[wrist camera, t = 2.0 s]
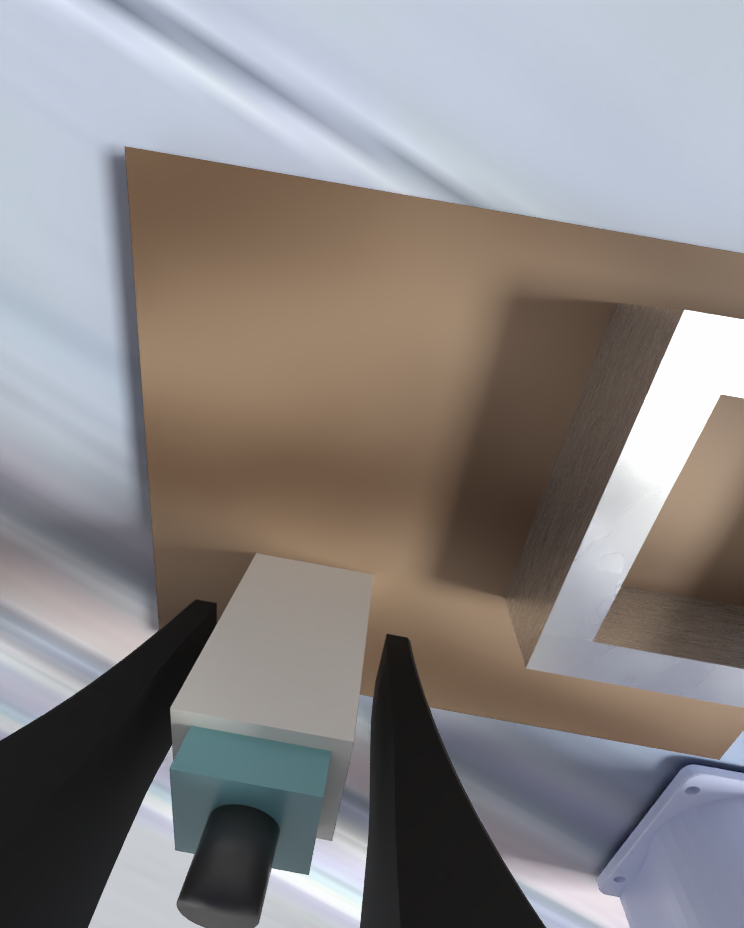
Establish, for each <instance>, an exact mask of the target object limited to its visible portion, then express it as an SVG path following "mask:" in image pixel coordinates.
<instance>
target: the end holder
mask: <svg viewBox="0 0 744 928" xmlns="http://www.w3.org/2000/svg"><path fill="white" fill-rule="evenodd" d="M720 394H725V395H731V396H737V397H742V398H744V320H740V319H734V318H729V317H723V316H717V315H711V314H706V313H700V312H694V311H689V310H682V309H672V308H662V307H653V306H643V305H633V304H624V303H615V304H614V306H613V309H612V312H611V314H610V317H609V320H608V322H607V325H606V328H605V330H604V333H603V336H602V338H601V341H600V344H599V346H598V349H597V352H596V354H595V357H594V360H593V362H592V365H591V368H590V370H589V373H588V376H587V378H586V381H585V384H584V386H583V389H582V392H581V394H580V397H579V400H578V402H577V405H576V408H575V410H574V413H573V416H572V418H571V421H570V424H569V427H568V429H567V432H566V435H565V437H564V440H563V443H562V445H561V448H560V451H559V453H558V456H557V459H556V461H555V464H554V467H553V469H552V472H551V475H550V477H549V480H548V483H547V485H546V488H545V491H544V493H543V496H542V499H541V501H540V504H539V507H538V509H537V512H536V515H535V517H534V520H533V523H532V525H531V528H530V531H529V533H528V536H527V539H526V541H525V544H524V547H523V549H522V552H521V555H520V557H519V560H518V563H517V565H516V568H515V571H514V573H513V576H512V579H511V581H510V584H509V587H508V589H507V592H506V595H505V597H504V598H505V602H506V605H507V608H508V611H509V615H510V618H511V621H512V624H513V628H514V631H515V634H516V638H517V641H518V644H519V647H520V651H521V654H522V657H523V660H524V664H525V667H526V669H532V670H537V671H543V672H549V673H554V674H560V675H565V676H571V677H576V678H582V679H587V680H593V681H598V682H604V683H609V684H615V685H620V686H626V687H631V688H637V689H642V690H648V691H653V692H659V693H665V694H670V695H676V696H681V697H687V698H692V699H698V700H703V701H709V702H714V703H720V704H725V705H731V706H736V707H742V708H744V607H743V606H737V605H731V604H726V603H720V602H715V601H709V600H703V599H698V598H692V597H687V596H681V595H676V594H670V593H664V592H659V591H653V590H648V589H642V588H637V587H631V586H625V585H622V584H623V582H624V580H625V578H626V576H627V574H628V572H629V570H630V568H631V566H632V564H633V562H634V560H635V558H636V556H637V555H638V553H639V551H640V549H641V547H642V545H643V543H644V541H645V539H646V537H647V535H648V533H649V531H650V529H651V527H652V525H653V524H654V522H655V520H656V518H657V516H658V514H659V512H660V510H661V508H662V506H663V504H664V502H665V500H666V498H667V496H668V495H669V493H670V491H671V489H672V487H673V485H674V483H675V481H676V479H677V477H678V475H679V473H680V471H681V469H682V467H683V466H684V464H685V462H686V460H687V458H688V456H689V454H690V452H691V450H692V448H693V446H694V444H695V442H696V440H697V438H698V437H699V435H700V433H701V431H702V429H703V427H704V425H705V423H706V421H707V419H708V417H709V415H710V413H711V411H712V409H713V407H714V406H715V404H716V402H717V400H718V398H719V396H720Z"/></svg>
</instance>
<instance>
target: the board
mask: <svg viewBox="0 0 744 928" xmlns="http://www.w3.org/2000/svg"><path fill="white" fill-rule="evenodd" d="M125 157H126V171H127V185H128V199H129V213H130V227H131V241H132V255H133V269H134V283H135V297H136V311H137V325H138V339H139V353H140V367H141V381H142V395H143V409H144V423H145V437H146V451H147V465H148V479H149V493H150V507H151V521H152V535H153V549H154V563H155V577H156V591H157V605H158V619H159V630H160V629H161V628H162V627H164V626H165V625H166V624H167V623H168V622H169V621H171V620H172V619H173V618H174V617H175V616H176V615H178V614H179V613H180V612H181V611H182V610H183V609H184V608H186V607H187V606H188V605H189V604H190V603H191V602H193V601H194V600H196V599H197V600H203V601H208V602H214V603H217V623H218V621H219V619H220V618H221V616H222V614H223V612H224V610H225V609H226V607H227V605H228V603H229V601H230V600H231V598H232V596H233V594H234V592H235V591H236V589H237V587H238V585H239V583H240V582H241V580H242V578H243V576H244V574H245V573H246V571H247V569H248V567H249V565H250V564H251V562H252V560H253V558H254V556H255V555H256V553H258V554H264V555H269V556H275V557H280V558H286V559H292V560H297V561H303V562H308V563H314V564H319V565H325V566H330V567H336V568H342V569H347V570H353V571H358V572H364V573H369V574H373V583H372V592H371V600H370V609H369V618H368V626H367V635H366V643H365V652H364V661H363V669H362V678H361V687H360V695H366V696H371V697H374V688H375V681H376V677H377V672H378V668H379V664H380V660H381V655H382V651H383V647H384V642H385V638H386V634H391V635H396V636H402V637H408V639H409V640H410V641H411V647H412V652H413V656H414V660H415V664H416V668H417V671H418V675H419V678H420V681H421V685H422V688H423V691H424V694H425V697H426V700H427V703H428V705H429V707H432V708H437V709H443V710H448V711H454V712H459V713H465V714H470V715H476V716H481V717H487V718H492V719H498V720H503V721H509V722H514V723H520V724H525V725H531V726H536V727H542V728H547V729H553V730H558V731H564V732H569V733H575V734H580V735H586V736H591V737H597V738H602V739H608V740H613V741H619V742H624V743H630V744H635V745H641V746H646V747H652V748H657V749H663V750H668V751H674V752H679V753H685V754H690V755H696V756H701V757H707V758H712V759H718V760H719V759H720V758H721V757H722V756H723V754H724V753H725V752H726V751H727V750H728V748H729V747H730V746H731V745H732V743H733V742H734V741H735V740H736V739H737V737H738V736H739V735H740V734H741V733H742V731H743V730H744V708H742V707H736V706H731V705H725V704H720V703H714V702H709V701H703V700H698V699H692V698H687V697H681V696H676V695H670V694H665V693H659V692H653V691H648V690H642V689H637V688H631V687H626V686H620V685H615V684H609V683H604V682H598V681H593V680H587V679H582V678H576V677H571V676H565V675H560V674H554V673H549V672H543V671H537V670H532V669H526V667H525V664H524V660H523V657H522V654H521V651H520V647H519V644H518V641H517V638H516V634H515V631H514V628H513V624H512V621H511V618H510V615H509V611H508V608H507V605H506V602H505V598H504V597H505V595H506V592H507V589H508V587H509V584H510V581H511V579H512V576H513V573H514V571H515V568H516V565H517V563H518V560H519V557H520V555H521V552H522V549H523V547H524V544H525V541H526V539H527V536H528V533H529V531H530V528H531V525H532V523H533V520H534V517H535V515H536V512H537V509H538V507H539V504H540V501H541V499H542V496H543V493H544V491H545V488H546V485H547V483H548V480H549V477H550V475H551V472H552V469H553V467H554V464H555V461H556V459H557V456H558V453H559V451H560V448H561V445H562V443H563V440H564V437H565V435H566V432H567V429H568V427H569V424H570V421H571V418H572V416H573V413H574V410H575V408H576V405H577V402H578V400H579V397H580V394H581V392H582V389H583V386H584V384H585V381H586V378H587V376H588V373H589V370H590V368H591V365H592V362H593V360H594V357H595V354H596V352H597V349H598V346H599V344H600V341H601V338H602V336H603V333H604V330H605V328H606V325H607V322H608V320H609V317H610V314H611V312H612V309H613V306H614V304H615V303H624V304H633V305H643V306H653V307H662V308H672V309H682V310H689V311H694V312H700V313H706V314H711V315H717V316H723V317H729V318H734V319H740V320H744V254H743V253H737V252H731V251H726V250H720V249H714V248H708V247H702V246H697V245H691V244H685V243H679V242H674V241H668V240H662V239H656V238H650V237H645V236H639V235H633V234H627V233H622V232H616V231H610V230H604V229H599V228H593V227H587V226H581V225H575V224H570V223H564V222H558V221H552V220H547V219H541V218H535V217H529V216H523V215H518V214H512V213H506V212H500V211H495V210H489V209H483V208H477V207H472V206H466V205H460V204H454V203H448V202H443V201H437V200H431V199H425V198H420V197H414V196H408V195H402V194H396V193H391V192H385V191H379V190H373V189H368V188H362V187H356V186H350V185H345V184H339V183H333V182H327V181H321V180H316V179H310V178H304V177H298V176H293V175H287V174H281V173H275V172H269V171H264V170H258V169H252V168H246V167H241V166H235V165H229V164H223V163H218V162H212V161H206V160H200V159H194V158H189V157H183V156H177V155H171V154H166V153H160V152H154V151H148V150H142V149H137V148H131V147H125ZM622 585H625V586H631V587H637V588H642V589H648V590H653V591H659V592H664V593H670V594H676V595H681V596H687V597H692V598H698V599H703V600H709V601H715V602H720V603H726V604H731V605H737V606H743V607H744V398H742V397H737V396H731V395H725V394H720V396H719V398H718V400H717V402H716V404H715V406H714V407H713V409H712V411H711V413H710V415H709V417H708V419H707V421H706V423H705V425H704V427H703V429H702V431H701V433H700V435H699V437H698V438H697V440H696V442H695V444H694V446H693V448H692V450H691V452H690V454H689V456H688V458H687V460H686V462H685V464H684V466H683V467H682V469H681V471H680V473H679V475H678V477H677V479H676V481H675V483H674V485H673V487H672V489H671V491H670V493H669V495H668V496H667V498H666V500H665V502H664V504H663V506H662V508H661V510H660V512H659V514H658V516H657V518H656V520H655V522H654V524H653V525H652V527H651V529H650V531H649V533H648V535H647V537H646V539H645V541H644V543H643V545H642V547H641V549H640V551H639V553H638V555H637V556H636V558H635V560H634V562H633V564H632V566H631V568H630V570H629V572H628V574H627V576H626V578H625V580H624V582H623V584H622Z"/></svg>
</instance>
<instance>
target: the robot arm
mask: <svg viewBox="0 0 744 928" xmlns="http://www.w3.org/2000/svg"><path fill="white" fill-rule="evenodd" d="M216 625H217V603H214V602H208V601H203V600H197V599H196V600H194V601H193V602H191V603H190V604H189V605H188V606H187V607H186V608H184V609H183V610H182V611H181V612H180V613H179V614H178V615H176V616H175V617H174V618H173V619H172V620H171V621H169V622H168V623H167V624H166V625H165V626H164V627H162V628H161V629H160V630H159V631H158V632H156V633H155V634H154V635H153V636H152V637H150V638H149V639H148V640H147V641H145V642H144V643H143V644H142V645H141V646H139V647H138V648H137V649H136V650H134V651H133V652H132V653H131V654H129V655H128V656H127V657H125V658H124V659H123V660H122V661H120V662H119V663H118V664H116V665H115V666H114V667H112V668H111V669H109V670H108V671H107V672H105V673H104V674H103V675H101V676H100V677H99V678H97V679H96V680H95V681H93V682H92V683H90V684H89V685H88V686H86V687H85V688H83V689H82V690H80V691H79V692H78V693H76V694H75V695H73V696H72V697H70V698H69V699H67V700H66V701H64V702H63V703H61V704H60V705H58V706H56V707H55V708H53V709H52V710H50V711H49V712H47V713H46V714H44V715H42V716H41V717H39V718H37V719H36V720H34V721H33V722H31V723H29V724H28V725H26V726H24V727H23V728H21V729H19V730H18V731H16V732H14V733H13V734H11V735H9V736H8V737H6V738H4V739H2V740H1V741H0V928H88V926H89V923H90V921H91V919H92V916H93V914H94V911H95V909H96V907H97V904H98V902H99V899H100V897H101V895H102V892H103V890H104V887H105V885H106V883H107V880H108V878H109V876H110V873H111V871H112V869H113V867H114V864H115V862H116V860H117V857H118V855H119V853H120V850H121V848H122V846H123V843H124V841H125V839H126V837H127V834H128V832H129V830H130V828H131V826H132V823H133V821H134V819H135V817H136V814H137V812H138V810H139V808H140V806H141V803H142V801H143V799H144V797H145V794H146V792H147V790H148V789H149V787H150V785H151V783H152V781H153V779H154V777H155V775H156V773H157V771H158V769H159V767H160V766H161V764H162V762H163V760H164V758H165V756H166V755H167V753H168V751H169V749H170V747H171V746H172V732H171V716H170V707H171V706H172V704H173V702H174V700H175V698H176V697H177V695H178V693H179V691H180V690H181V688H182V686H183V684H184V682H185V681H186V679H187V677H188V675H189V673H190V672H191V670H192V668H193V666H194V664H195V663H196V661H197V659H198V657H199V655H200V654H201V652H202V650H203V648H204V646H205V645H206V643H207V641H208V639H209V637H210V636H211V634H212V632H213V630H214V628H215V627H216ZM596 881H597V884H598V887H599V890H600V891H601V892H602V893H603V894H606V895H611V896H617V897H620V900H621V903H622V906H623V909H624V912H625V915H626V918H627V920H628V923H629V926H630V928H744V773H740V772H735V771H729V770H724V769H718V768H713V767H707V766H702V765H694V764H693V765H687V766H685V767H683V768H682V769H681V770H680V771H679V772H678V774H677V775H676V776H675V778H674V779H673V780H672V781H671V783H670V784H669V785H668V787H667V788H666V789H665V791H664V792H663V793H662V794H661V796H660V797H659V798H658V800H657V801H656V802H655V804H654V805H653V806H652V807H651V809H650V810H649V811H648V813H647V814H646V815H645V817H644V818H643V819H642V820H641V822H640V823H639V824H638V826H637V827H636V828H635V829H634V831H633V832H632V833H631V835H630V836H629V837H628V839H627V840H626V841H625V842H624V844H623V845H622V846H621V848H620V849H619V850H618V852H617V853H616V854H615V855H614V857H613V858H612V859H611V861H610V862H609V863H608V864H607V866H606V867H605V868H604V870H603V871H602V872H601V874H600V875H599V876H598V878H597V880H596ZM360 928H546V927H545V925H544V924H543V922H542V921H541V919H540V918H539V916H538V915H537V913H536V912H535V910H534V909H533V907H532V906H531V904H530V903H529V901H528V900H527V898H526V897H525V895H524V893H523V892H522V890H521V889H520V887H519V885H518V884H517V882H516V881H515V879H514V877H513V876H512V874H511V873H510V871H509V869H508V868H507V866H506V864H505V863H504V861H503V859H502V857H501V856H500V854H499V852H498V851H497V849H496V847H495V845H494V844H493V842H492V840H491V838H490V837H489V835H488V833H487V831H486V830H485V828H484V826H483V824H482V823H481V821H480V819H479V817H478V815H477V813H476V812H475V810H474V808H473V806H472V804H471V802H470V800H469V798H468V796H467V794H466V792H465V790H464V788H463V786H462V784H461V782H460V780H459V778H458V776H457V774H456V772H455V769H454V767H453V765H452V763H451V761H450V758H449V756H448V754H447V751H446V749H445V747H444V744H443V742H442V739H441V737H440V735H439V732H438V730H437V727H436V725H435V722H434V719H433V717H432V714H431V711H430V708H429V705H428V703H427V700H426V697H425V694H424V691H423V688H422V685H421V681H420V678H419V675H418V671H417V668H416V664H415V660H414V656H413V652H412V647H411V641H410V640H409V639H408V637H402V636H396V635H391V634H386V638H385V642H384V647H383V651H382V655H381V660H380V664H379V668H378V672H377V677H376V681H375V688H374V697H373V706H372V716H371V745H370V814H369V835H368V847H367V858H366V869H365V880H364V891H363V902H362V912H361V923H360Z"/></svg>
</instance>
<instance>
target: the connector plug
mask: <svg viewBox="0 0 744 928" xmlns="http://www.w3.org/2000/svg"><path fill="white" fill-rule="evenodd" d="M372 583H373V574H369V573H364V572H358V571H353V570H347V569H342V568H336V567H330V566H325V565H319V564H314V563H308V562H303V561H297V560H292V559H286V558H280V557H275V556H269V555H264V554H258V553H256V555H255V556H254V558H253V560H252V562H251V564H250V565H249V567H248V569H247V571H246V573H245V574H244V576H243V578H242V580H241V582H240V583H239V585H238V587H237V589H236V591H235V592H234V594H233V596H232V598H231V600H230V601H229V603H228V605H227V607H226V609H225V610H224V612H223V614H222V616H221V618H220V619H219V621H218V623H217V625H216V627H215V628H214V630H213V632H212V634H211V636H210V637H209V639H208V641H207V643H206V645H205V646H204V648H203V650H202V652H201V654H200V655H199V657H198V659H197V661H196V663H195V664H194V666H193V668H192V670H191V672H190V673H189V675H188V677H187V679H186V681H185V682H184V684H183V686H182V688H181V690H180V691H179V693H178V695H177V697H176V698H175V700H174V702H173V704H172V706H171V707H170V716H171V732H172V747H173V763H172V765H171V767H170V782H171V797H172V811H173V825H174V839H175V850H177V851H182V852H187V853H193V854H195V855H194V857H193V860H192V863H191V865H190V868H189V871H188V873H187V876H186V879H185V882H184V884H183V887H182V890H181V892H180V895H179V898H178V900H177V908H178V910H179V911H180V913H181V914H182V915H183V916H184V917H186V918H187V919H188V920H190V921H192V922H193V923H196V924H198V925H200V926H202V927H205V928H254V927H256V926H257V925H258V923H259V920H260V916H261V911H262V907H263V903H264V899H265V894H266V890H267V886H268V881H269V877H270V873H271V868H274V869H279V870H285V871H290V872H295V873H301V874H306V875H309V871H310V866H311V861H312V855H313V850H314V845H315V840H316V838H319V839H324V840H329V841H332V839H333V834H334V830H335V825H336V821H337V816H338V812H339V807H340V803H341V798H342V794H343V789H344V785H345V780H346V776H347V771H348V767H349V763H350V758H351V754H352V749H353V745H354V738H355V730H356V721H357V712H358V704H359V695H360V687H361V678H362V669H363V661H364V652H365V643H366V635H367V626H368V618H369V609H370V600H371V592H372Z"/></svg>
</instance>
